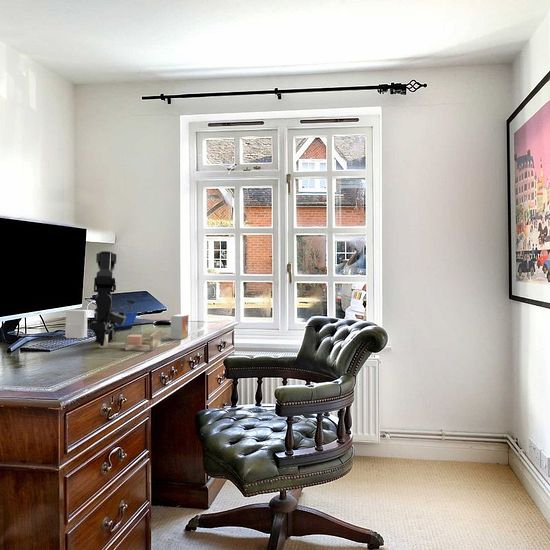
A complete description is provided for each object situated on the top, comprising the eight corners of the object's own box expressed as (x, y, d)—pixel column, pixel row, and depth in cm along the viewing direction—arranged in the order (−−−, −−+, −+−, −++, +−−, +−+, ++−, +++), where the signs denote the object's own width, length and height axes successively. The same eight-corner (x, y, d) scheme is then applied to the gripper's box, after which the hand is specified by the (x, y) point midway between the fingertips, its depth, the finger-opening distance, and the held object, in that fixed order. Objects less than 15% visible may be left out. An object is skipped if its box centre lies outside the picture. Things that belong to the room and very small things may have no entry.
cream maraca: (97, 348, 201) (97, 335, 201) (101, 346, 206) (101, 333, 206) (139, 349, 202) (139, 336, 202) (142, 347, 207) (142, 334, 207)
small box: (181, 339, 229) (182, 316, 229) (170, 338, 230) (170, 315, 230) (188, 337, 237) (188, 314, 236) (176, 336, 238) (177, 314, 237)
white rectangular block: (90, 336, 231) (91, 309, 230) (81, 339, 222) (81, 311, 221) (71, 335, 232) (72, 308, 231) (61, 338, 223) (61, 310, 222)
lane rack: (125, 350, 199) (125, 334, 199) (135, 342, 216) (136, 328, 216) (152, 350, 200) (153, 335, 199) (160, 343, 217) (161, 329, 217)
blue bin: (121, 327, 264) (121, 309, 263) (137, 330, 256) (138, 311, 255) (94, 330, 251) (95, 311, 251) (111, 333, 243) (112, 313, 243)
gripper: (118, 308, 194) (117, 349, 194) (129, 304, 213) (129, 341, 213) (88, 308, 193) (87, 348, 194) (102, 303, 212) (102, 340, 213)
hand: (103, 344), depth 203 cm, fingers closed on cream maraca, 3 cm apart
